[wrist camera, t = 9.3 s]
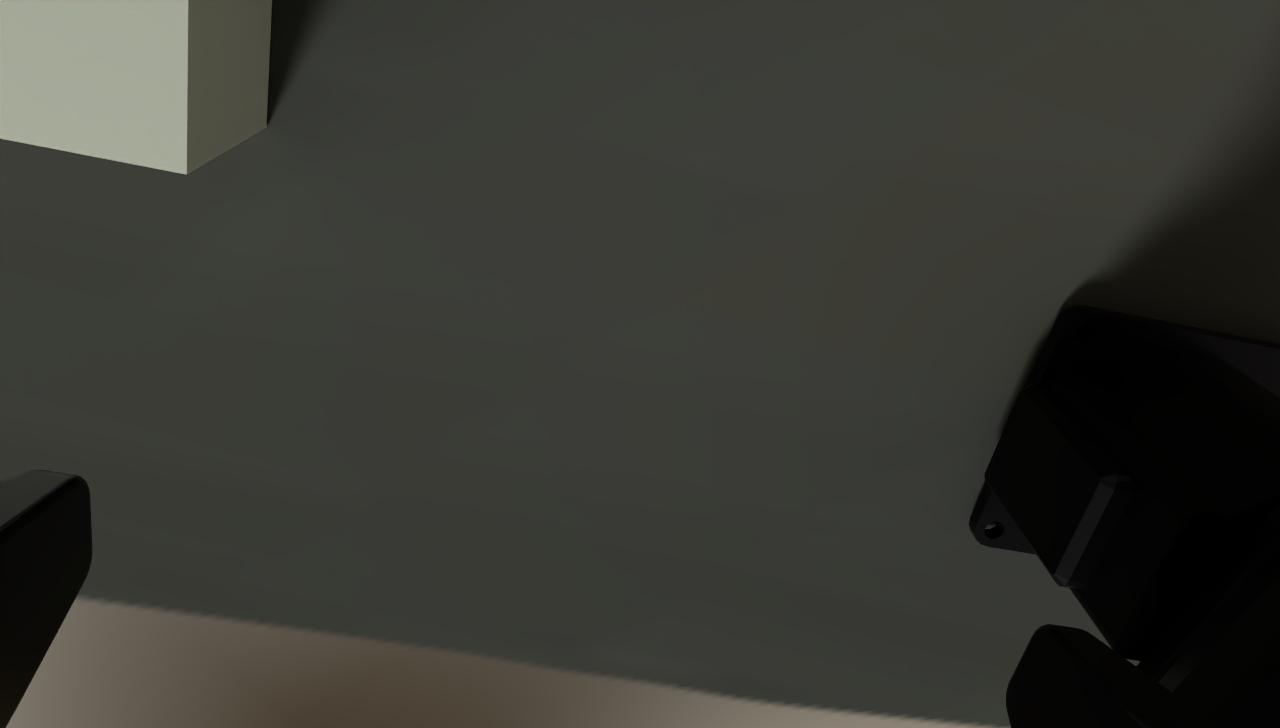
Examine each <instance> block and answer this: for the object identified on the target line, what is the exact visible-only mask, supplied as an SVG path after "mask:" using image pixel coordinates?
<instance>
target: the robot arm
mask: <svg viewBox="0 0 1280 728" xmlns="http://www.w3.org/2000/svg"><path fill="white" fill-rule="evenodd" d="M1082 322H1087V325H1086V328H1085V330H1084V331H1083V332H1082V333H1080V334H1078V335H1074V336H1072V335H1073V330H1074V329H1075V327H1076V326H1077V325H1079V324H1080V323H1082ZM985 479H986V483H985V485H984V487H983V489H982V492H981V494H980V496H979V499H978V501H977V503H976V506H975V508H974V510H973V512H972V515H971V517H970V521H969V527H970V530H971V532H972V533H973V535H974V537H975V538H976V540H977V541H978V542H979V543H980V544H982V545H985V546H988V547H994V548H1000V549H1006V550H1012V551H1019V552H1025V553H1031V554H1036V555H1037V556H1038V558H1039V559H1040V561H1041V562H1042V563H1043V565H1044V566H1045V568H1046V569H1047V571H1048V572H1049V574H1050V575H1051V577H1052V578H1053V579H1054V581H1055V582H1056V583H1057V584H1058V585H1059V586H1061V587H1068V588H1070V590H1071V591H1072V593H1073V594H1074V595H1075V597H1076V598H1077V600H1078V601H1079V602H1080V604H1081V605H1082V607H1083V608H1084V610H1085V611H1086V612H1087V614H1088V615H1089V617H1090V618H1091V620H1092V621H1093V622H1094V624H1095V625H1096V627H1097V628H1098V630H1099V631H1100V632H1101V634H1102V635H1103V637H1104V638H1105V639H1106V641H1107V642H1108V644H1109V645H1110V647H1111V648H1112V649H1113V650H1112V649H1111V648H1110V647H1108V646H1107V645H1105V644H1104V643H1103V642H1101V641H1100V640H1098V639H1097V638H1096V637H1094V636H1093V635H1091V634H1090V633H1088V632H1087V631H1084V630H1082V629H1078V628H1072V627H1065V626H1058V625H1052V624H1047V625H1043V626H1041V627H1040V628H1038V629H1037V630H1036V631H1035V633H1034V634H1033V636H1032V638H1031V640H1030V642H1029V644H1028V646H1027V648H1026V650H1025V652H1024V654H1023V656H1022V658H1021V660H1020V662H1019V664H1018V666H1017V668H1016V670H1015V672H1014V674H1013V676H1012V678H1011V680H1010V682H1009V684H1008V688H1007V692H1006V708H1007V713H1008V717H1009V721H1010V725H1011V728H1280V345H1279V344H1274V343H1269V342H1264V341H1259V340H1254V339H1249V338H1244V337H1239V336H1234V335H1229V334H1224V333H1219V332H1214V331H1209V330H1204V329H1199V328H1194V327H1189V326H1184V325H1179V324H1174V323H1169V322H1164V321H1159V320H1154V319H1149V318H1144V317H1139V316H1134V315H1129V314H1124V313H1119V312H1114V311H1109V310H1104V309H1099V308H1094V307H1089V306H1074V307H1071V308H1068V309H1067V310H1065V311H1064V312H1063V313H1061V314H1060V316H1059V317H1058V319H1057V320H1056V322H1055V324H1054V326H1053V329H1052V331H1051V333H1050V336H1049V338H1048V340H1047V342H1046V345H1045V347H1044V349H1043V352H1042V354H1041V356H1040V359H1039V361H1038V363H1037V365H1036V368H1035V370H1034V372H1033V375H1032V377H1031V379H1030V382H1029V384H1028V386H1026V387H1025V388H1024V389H1023V390H1022V391H1021V392H1020V394H1019V396H1018V398H1017V401H1016V403H1015V405H1014V408H1013V410H1012V412H1011V414H1010V417H1009V419H1008V421H1007V424H1006V426H1005V428H1004V431H1003V433H1002V435H1001V438H1000V440H999V442H998V444H997V447H996V449H995V451H994V454H993V456H992V458H991V461H990V463H989V465H988V468H987V470H986V472H985ZM992 522H998V523H997V524H996V526H995V527H993V528H991V529H985V528H986V526H987V525H988V524H990V523H992ZM91 560H92V530H91V506H90V491H89V487H88V484H87V482H86V481H85V480H84V479H83V478H82V477H80V476H78V475H71V474H65V473H58V472H52V471H45V470H31V471H28V472H25V473H22V474H20V475H17V476H14V477H11V478H9V479H6V480H3V481H1V482H0V728H6V726H7V724H8V723H9V721H10V719H11V717H12V716H13V714H14V712H15V710H16V709H17V707H18V705H19V703H20V701H21V699H22V698H23V696H24V694H25V692H26V690H27V688H28V686H29V684H30V682H31V681H32V679H33V677H34V675H35V673H36V671H37V669H38V668H39V666H40V664H41V662H42V660H43V658H44V656H45V654H46V652H47V651H48V649H49V647H50V645H51V643H52V641H53V640H54V638H55V636H56V634H57V632H58V630H59V628H60V626H61V625H62V623H63V621H64V619H65V617H66V615H67V613H68V611H69V610H70V608H71V606H72V604H73V602H74V600H75V598H76V597H77V595H78V593H79V591H80V589H81V587H82V585H83V583H84V581H85V579H86V577H87V575H88V572H89V569H90V565H91ZM1126 659H1130V660H1137V661H1141V662H1140V663H1139V664H1138V665H1137V666H1135V665H1133V664H1132V663H1130V662H1129V661H1128V660H1126Z"/></svg>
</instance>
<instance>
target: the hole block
mask: <svg viewBox="0 0 1280 728" xmlns="http://www.w3.org/2000/svg"><path fill="white" fill-rule="evenodd" d="M271 15H272V0H0V138H1V139H6V140H11V141H16V142H21V143H27V144H32V145H37V146H42V147H47V148H52V149H57V150H63V151H68V152H73V153H78V154H83V155H88V156H94V157H99V158H104V159H109V160H114V161H119V162H125V163H130V164H135V165H140V166H145V167H150V168H156V169H161V170H166V171H171V172H176V173H181V174H188V173H190V172H192V171H194V170H195V169H197V168H199V167H200V166H202V165H204V164H205V163H207V162H209V161H210V160H212V159H214V158H216V157H217V156H219V155H221V154H222V153H224V152H226V151H227V150H229V149H231V148H233V147H234V146H236V145H238V144H239V143H241V142H243V141H244V140H246V139H248V138H250V137H251V136H253V135H255V134H256V133H258V132H260V131H261V130H263V129H265V128H266V127H267V105H268V82H269V60H270V38H271Z"/></svg>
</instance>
